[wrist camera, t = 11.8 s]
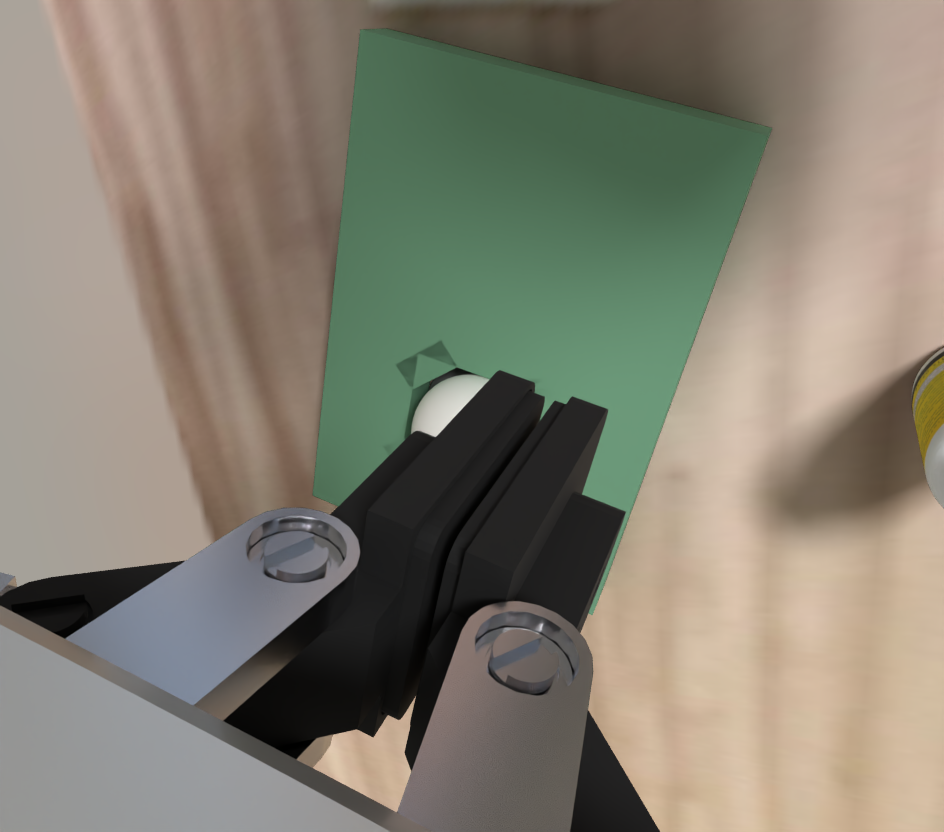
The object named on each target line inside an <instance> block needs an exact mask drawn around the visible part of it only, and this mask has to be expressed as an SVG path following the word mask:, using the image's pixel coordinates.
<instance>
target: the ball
mask: <svg viewBox="0 0 944 832" xmlns="http://www.w3.org/2000/svg"><path fill="white" fill-rule="evenodd" d="M488 381H489V379H488V378H485V377H482V376H479V375H473V374H467V375H458V376H454V377H451V378H448V379H446V380H444V381H442V382H440V383H438V384H437V385H435V386H434V387H433V388H432V389H431V390H429V391H428V392H427V394H426V395H425V396H424V397H423V398H422V400H421V401H420V403H419V405H418V407H417V409H416V411H415V414H414V417H413V421H412V429H411V434H412V433H413V432H415V431H422V432H424V433H427V434H429V435H432V436H434V437H436V436H437V435H438V434H439V433H440V432H441V431H442V430H443V429H444V428H445V427H446V426H447V425H448V423H449V422H450V421H451V420H452V419H453V418H454V417H455V416H456V415H457V414H458V413H459V412H460V411H461V410H462V408H463V407H464V406H465V405H466V404H467V403H468V402H469V401H470V400H471V399H472V398H473V397H474V396H475V395H476V393H477V392H478V391H479V390H480V389H481V388H482V387H483V386H484V385H485V384H486V383H487V382H488Z"/></svg>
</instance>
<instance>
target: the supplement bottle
mask: <svg viewBox="0 0 944 832" xmlns="http://www.w3.org/2000/svg"><path fill="white" fill-rule="evenodd" d="M912 412H913V417H914V422H915V427H916V431H917V436H918V442H919V446H920V451H921V456H922V461H923V466H924V470H925V475H926V479H927V482H928V485H929V487H930V490H931V492H932V494H933V495H934V497H935V499H936V500H937V501H938V503H939V504H940V505H941V506H942V507H943V508H944V348H942V349H941V350H939V351H938V352H936V353H935V354H934V355H933V356H932V357H930V358H929V360H928V361H927V362H926V363H925V364H924V365H923V366H922V368H921V369H920V371H919V372H918V374H917V376H916V379H915V381H914V384H913V388H912Z"/></svg>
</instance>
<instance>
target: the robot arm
mask: <svg viewBox="0 0 944 832" xmlns="http://www.w3.org/2000/svg"><path fill="white" fill-rule="evenodd" d="M534 392H535V382H532V381H529V380H526V379H524V378H521V377H518V376H515V375H512V374H510V373H507V372H504V371H501V370H499V371H497V372H496V373H495V374H494V375H493V376H492V377H491V378H490V379H489V381H488V382H487V383H486V384H485V385H484V386H483V387H482V388H481V389H480V390H479V391H478V392H477V393H476V395H475V396H474V397H473V398H472V399H471V400H470V401H469V402H468V403H467V404H466V405H465V406H464V407H463V408H462V410H461V411H460V412H459V413H458V414H457V415H456V416H455V417H454V418H453V419H452V420H451V421H450V422H449V423H448V425H447V426H446V427H445V428H444V429H443V430H442V431H441V432H440V433H439V434H438V435H437V436H436V437H434V436H432V435H429V434H427V433H424V432H422V431H415V432H413V433H412V434H411V435H409V436H408V437H407V438H406V439H405V440H404V441H403V442H402V443H401V444H400V445H399V446H398V447H397V448H396V449H395V450H394V451H393V452H392V453H391V454H390V455H389V456H388V457H387V458H386V459H385V460H384V461H383V462H382V463H381V464H380V465H379V466H378V467H377V468H376V469H375V470H374V471H373V472H372V473H371V474H370V475H369V476H368V477H367V478H366V479H365V480H364V481H363V482H362V483H361V484H360V485H359V486H358V487H357V488H356V489H355V490H354V491H353V492H352V493H351V494H350V495H349V496H348V497H347V498H346V499H345V500H344V501H343V502H342V503H341V504H340V505H339V506H338V507H337V508H336V509H335V510H334V511H333V512H332V513H331V514H330V515H329V514H327V513H324V512H322V511H317V510H312V509H307V508H281V509H277V510H272V511H267V512H264V513H262V514H260V515H258V516H256V517H254V518H252V519H250V520H248V521H247V522H245V523H244V524H242V525H240V526H239V527H237V528H236V529H234V530H233V531H231V532H230V533H228V534H226V535H225V536H223V537H222V538H220V539H219V540H217V541H216V542H214V543H213V544H211V545H209V546H208V547H206V548H205V549H203V550H202V551H200V552H199V553H197V554H195V555H194V556H192V557H191V558H189V559H188V560H186V561H179V562H171V563H164V564H155V565H147V566H139V567H130V568H123V569H115V570H106V571H98V572H90V573H82V574H74V575H65V576H58V577H51V578H46V579H41V580H37V581H33V582H28V583H26V584H24V585H22V586H19V587H17V584H16V578H15V576H12V575H8V574H4V573H0V832H660V831H659V829H658V827H657V826H656V824H655V822H654V821H653V819H652V817H651V816H650V814H649V812H648V811H647V809H646V807H645V805H644V804H643V802H642V800H641V799H640V797H639V795H638V794H637V792H636V790H635V789H634V787H633V785H632V783H631V782H630V780H629V778H628V777H627V775H626V773H625V772H624V770H623V768H622V767H621V765H620V763H619V761H618V760H617V758H616V756H615V755H614V753H613V751H612V750H611V748H610V746H609V745H608V743H607V741H606V739H605V738H604V736H603V734H602V733H601V731H600V729H599V728H598V726H597V724H596V723H595V721H594V719H593V717H592V716H591V714H590V712H589V711H588V705H589V699H590V692H591V685H592V678H593V658H592V654H591V652H590V649H589V647H588V645H587V642H586V640H585V639H584V638H583V636H582V635H581V634H580V632H581V630H582V627H583V625H584V622H585V620H586V618H587V615H588V613H589V610H590V608H591V605H592V603H593V600H594V598H595V595H596V593H597V590H598V588H599V585H600V582H601V580H602V577H603V574H604V572H605V569H606V567H607V564H608V561H609V559H610V556H611V553H612V550H613V548H614V545H615V542H616V539H617V537H618V534H619V531H620V528H621V526H622V523H623V520H624V517H625V514H626V511H623V510H621V509H618V508H616V507H613V506H610V505H608V504H605V503H603V502H600V501H598V500H595V499H593V498H590V497H587V496H585V495H582V493H583V490H584V487H585V484H586V480H587V477H588V474H589V471H590V468H591V465H592V462H593V459H594V456H595V453H596V450H597V446H598V443H599V440H600V437H601V434H602V431H603V428H604V425H605V422H606V418H607V414H608V409H606V408H604V407H601V406H598V405H595V404H593V403H590V402H587V401H584V400H582V399H579V398H576V397H573V396H572V397H571V398H570V399H569V401H568V402H567V404H564V403H561V402H558V401H554V402H553V403H552V405H551V406H550V407H549V409H548V410H547V411H546V413H545V414H544V416H543V417H542V418H541V414H542V411H543V407H544V403H545V396H542V395H539V394H536V393H534ZM540 418H541V420H540ZM415 696H416V699H415V703H414V708H413V712H412V717H411V722H410V725H411V726H410V731H409V735H408V740H407V744H406V749H405V755H406V758H407V761H408V763H409V766H410V769H411V775H410V777H409V780H408V783H407V786H406V789H405V792H404V794H403V797H402V800H401V803H400V806H399V808H398V811H397V812H395V811H393V810H391V809H389V808H387V807H385V806H383V805H382V804H380V803H378V802H376V801H374V800H372V799H370V798H368V797H366V796H365V795H363V794H361V793H359V792H357V791H355V790H353V789H351V788H349V787H347V786H346V785H344V784H342V783H340V782H338V781H336V780H334V779H332V778H330V777H328V776H327V775H325V774H323V773H321V772H319V771H317V770H315V769H313V767H314V766H315V765H316V763H317V762H318V761H319V760H320V759H321V758H322V757H323V755H324V754H325V752H326V751H327V749H328V748H329V746H330V744H331V740H332V736H333V734H338V733H342V732H347V731H351V730H355V729H358V730H360V731H362V732H364V733H366V734H368V735H369V736H371V737H374V736H375V734H376V732H377V731H378V729H379V728H380V726H381V725H382V723H383V721H384V720H385V718H386V717H387V715H389V716H392V717H394V718H396V719H398V720H400V719H401V718H402V717H403V715H404V714H405V712H406V711H407V709H408V708H409V706H410V704H411V703H412V701H413V699H414V698H415Z"/></svg>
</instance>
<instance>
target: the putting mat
mask: <svg viewBox="0 0 944 832" xmlns="http://www.w3.org/2000/svg"><path fill="white" fill-rule="evenodd" d="M771 130H772V128H770V127H766V126H762V125H759V124H755V123H751V122H747V121H743V120H739V119H735V118H731V117H728V116H724V115H720V114H716V113H712V112H708V111H704V110H700V109H697V108H693V107H689V106H685V105H681V104H677V103H673V102H669V101H666V100H662V99H658V98H654V97H650V96H646V95H642V94H638V93H635V92H631V91H627V90H623V89H619V88H615V87H611V86H607V85H604V84H600V83H596V82H592V81H588V80H584V79H580V78H577V77H573V76H569V75H565V74H561V73H557V72H553V71H549V70H546V69H542V68H538V67H534V66H530V65H526V64H522V63H518V62H515V61H511V60H507V59H503V58H499V57H495V56H491V55H487V54H484V53H480V52H476V51H472V50H468V49H464V48H460V47H456V46H453V45H449V44H445V43H441V42H437V41H433V40H429V39H425V38H422V37H418V36H414V35H410V34H406V33H402V32H398V31H394V30H391V29H363V30H360V37H359V47H358V56H357V66H356V76H355V86H354V95H353V105H352V115H351V125H350V134H349V144H348V154H347V164H346V173H345V183H344V193H343V203H342V212H341V222H340V232H339V242H338V251H337V261H336V271H335V281H334V291H333V300H332V310H331V320H330V330H329V339H328V349H327V359H326V369H325V378H324V388H323V398H322V408H321V417H320V427H319V437H318V447H317V456H316V466H315V476H314V486H313V496H315V497H317V498H320V499H322V500H325V501H327V502H329V503H332V504H334V505H336V506H339V505H340V504H341V503H342V502H343V501H344V500H345V499H346V498H347V497H348V496H349V495H350V494H351V493H352V492H353V491H354V490H355V489H356V488H357V487H358V486H359V485H360V484H361V483H362V482H363V481H364V480H365V479H366V478H367V477H368V476H369V475H370V474H371V473H372V472H373V471H374V470H375V469H376V468H377V467H378V466H379V465H380V464H381V463H382V462H383V461H384V460H385V459H386V458H387V457H388V456H389V455H390V454H391V453H392V452H393V451H394V450H395V449H396V448H397V447H398V446H399V445H400V444H401V443H402V442H403V441H404V440H405V439H406V438H407V437H408V436H409V435H411V429H412V421H413V417H414V414H415V411H416V409H417V407H418V405H419V403H420V401H421V400H422V398H423V397H424V396H425V395H426V394H427V392H428V391H429V390H431V389H432V388H433V387H434V386H435V385H437V384H438V383H440V382H442V381H444V380H446V379H448V378H451V377H454V376H458V375H467V374H473V375H479V376H482V377H485V378H488V379H490V378H491V377H492V376H493V375H494V374H495V373H496V372H497V371H499V370H501V371H504V372H507V373H510V374H512V375H515V376H518V377H521V378H524V379H526V380H529V381H532V382H535V392H534V393H536V394H539V395H542V396H545V403H544V407H543V411H542V414H541V418H542V417H543V416H544V414H545V413H546V411H547V410H548V409H549V407H550V406H551V405H552V403H553V402H554V401H558V402H561V403H564V404H567V402H568V401H569V399H570V398H571V397H572V396H573V397H576V398H579V399H582V400H584V401H587V402H590V403H593V404H595V405H598V406H601V407H604V408H606V409H608V414H607V418H606V422H605V425H604V428H603V431H602V434H601V437H600V440H599V443H598V446H597V450H596V453H595V456H594V459H593V462H592V465H591V468H590V471H589V474H588V477H587V480H586V484H585V487H584V490H583V493H582V495H585V496H587V497H590V498H593V499H595V500H598V501H600V502H603V503H605V504H608V505H610V506H613V507H616V508H618V509H621V510H623V511H626V514H625V517H624V520H623V523H622V526H621V528H620V531H619V534H618V537H617V539H616V542H615V545H614V548H613V550H612V553H611V556H610V559H609V561H608V564H607V567H606V569H605V572H604V574H603V577H602V580H601V582H600V585H599V588H598V590H597V593H596V595H595V598H594V600H593V603H592V605H591V608H590V610H589V614H591V615H593V612H594V610H595V607H596V605H597V602H598V600H599V597H600V595H601V592H602V590H603V587H604V585H605V582H606V579H607V577H608V574H609V571H610V568H611V566H612V563H613V560H614V557H615V555H616V552H617V549H618V547H619V544H620V541H621V538H622V536H623V533H624V530H625V528H626V525H627V522H628V519H629V517H630V514H631V511H632V508H633V506H634V503H635V500H636V498H637V495H638V492H639V489H640V487H641V484H642V481H643V479H644V476H645V473H646V470H647V468H648V465H649V462H650V460H651V457H652V454H653V451H654V449H655V446H656V443H657V440H658V438H659V435H660V432H661V430H662V427H663V424H664V421H665V419H666V416H667V413H668V411H669V408H670V405H671V402H672V400H673V397H674V394H675V391H676V389H677V386H678V383H679V381H680V378H681V375H682V372H683V370H684V367H685V364H686V362H687V359H688V356H689V353H690V351H691V348H692V345H693V342H694V340H695V337H696V334H697V332H698V329H699V326H700V323H701V321H702V318H703V315H704V313H705V310H706V307H707V304H708V302H709V299H710V296H711V294H712V291H713V288H714V285H715V283H716V280H717V277H718V274H719V272H720V269H721V266H722V264H723V261H724V258H725V255H726V253H727V250H728V247H729V245H730V242H731V239H732V236H733V234H734V231H735V228H736V225H737V223H738V220H739V217H740V215H741V212H742V209H743V206H744V204H745V201H746V198H747V196H748V193H749V190H750V187H751V185H752V182H753V179H754V176H755V174H756V171H757V168H758V166H759V163H760V160H761V157H762V155H763V152H764V149H765V147H766V144H767V141H768V138H769V136H770V133H771ZM433 379H434V380H433ZM431 380H433V382H432V383H431V385H430V381H431ZM429 386H430V388H429ZM541 418H540V420H541Z"/></svg>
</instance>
